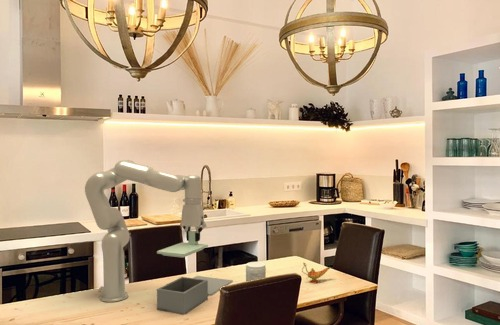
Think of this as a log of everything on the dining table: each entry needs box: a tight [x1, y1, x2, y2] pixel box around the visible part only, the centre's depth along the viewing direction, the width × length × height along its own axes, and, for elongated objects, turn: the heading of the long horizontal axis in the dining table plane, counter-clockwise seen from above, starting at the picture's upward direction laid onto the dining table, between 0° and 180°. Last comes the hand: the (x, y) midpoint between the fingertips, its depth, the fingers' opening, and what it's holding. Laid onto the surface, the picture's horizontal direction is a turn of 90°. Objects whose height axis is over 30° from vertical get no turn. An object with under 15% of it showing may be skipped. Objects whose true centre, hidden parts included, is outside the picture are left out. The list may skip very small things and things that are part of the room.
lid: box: [156, 230, 209, 259], centre depth 189 cm, size 14×20×8 cm
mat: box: [193, 275, 234, 296], centre depth 215 cm, size 22×24×1 cm
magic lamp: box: [301, 262, 332, 284], centre depth 221 cm, size 7×18×11 cm, turn 112°
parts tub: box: [156, 276, 209, 316], centre depth 188 cm, size 14×20×9 cm
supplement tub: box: [245, 261, 267, 282], centre depth 201 cm, size 10×10×15 cm
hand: (193, 240), depth 197 cm, fingers closed on lid, 4 cm apart
